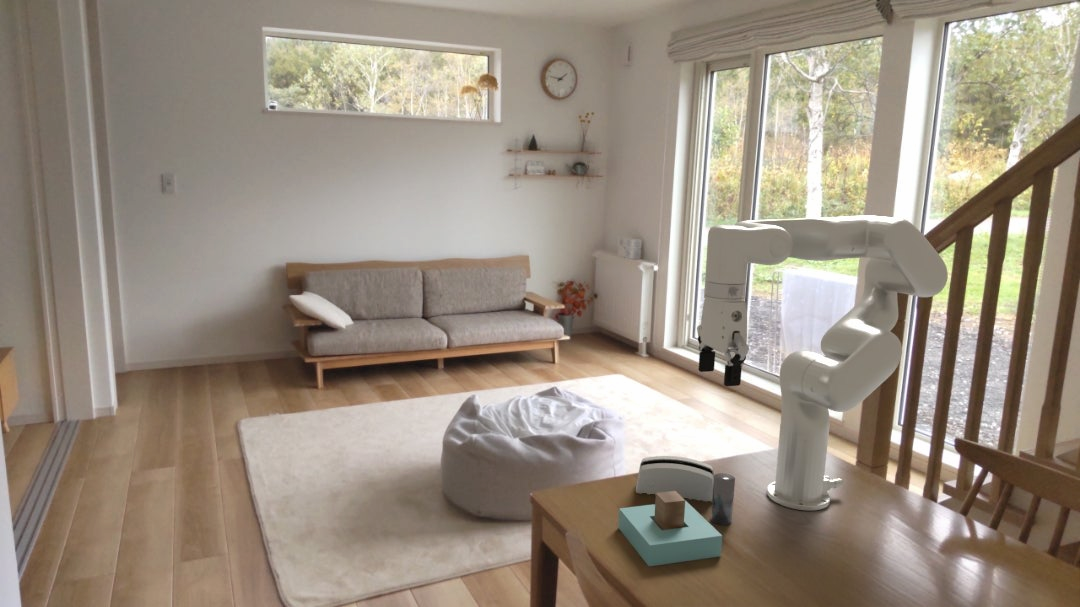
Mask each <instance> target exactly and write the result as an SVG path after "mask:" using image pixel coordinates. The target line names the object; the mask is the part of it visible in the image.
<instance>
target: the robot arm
mask: <svg viewBox="0 0 1080 607" xmlns="http://www.w3.org/2000/svg"><path fill="white" fill-rule="evenodd" d="M707 232H708V233H707V245H706V246H707V248H706V261H705V277H704V293H703V298H704V301H703V304H702V312H701V320H700V324H699V325H698V326H697V328H696V332H697V336H698V337H697V341H698V342H697V343H698V344H699V345H698V351H699V355H698V357H699V358H698V371H699V372H701V373H704V372H705V373H706V372H714V370H715V362H716V351H717V352H719V353H721V354H724V358H725V360H726V363H727V364H725V365H724V373H723V374H724V377H723V378H724V379H723V385H724V386H725V387H737V386H740V385H741V384H742V383H741V381H742V380H741V379H742V367H743V366H744V364H745V361H746V360H747V354H748V352H749V351H750V347H749V345H748V344H747V342H748V312H747V311H748V310H747V303H746V291H747V290H746V287H747V274H748V265H749V264H755V265H756V264H757V265H764V266H774V265H779V264H781V263H783V262H784V261H786V260H787V259H788V258H791V259H798V260H805V261H817V262H823V261H824V262H825V261H826V262H827V261H835V260H848V259H860V258H862V259H863V258H865V259H866V258H868V261H867V262H866V264H865V268H864V286H863V293H862V296H861V298H860V300H859V301H858V302H857V303H856V304H855V306H853V307H852V308H851V309H850V310H849V311H848V312H847V313H845V314H844V315H843V316H842V317H841V318H840V319H839V320H838V321H836V323H834V324H833V325H831V327H830V328H828V330H827V331H826V332H825V333H824V335H823V336H822V338H821V340H820V349H821V352H822V353H823V354H824V355H823V354H821V353H817V352H816V351H815V352H814V351H811V350H797V351H794V352H791V353H790V354H788V355H787V356H786V357H785V358H784V359H783V361H782V363H781V366H780V368H779V387H780V394H781V413H780V424H779V433H778V434H779V437H778V447H777V458H776V469H775V470H776V472H775V480H774V481H772V482H770V483H769V484H768V485H767V487H766V494H767V496H768V497H769V499H770V500H772V501H773V502H775V503H776V504H778V505H780V506H783V507H786V508H789V509H792V510H798V511H799V510H800V511H809V512H810V511H811V512H812V511H820V510H823V509H826V508H827V507H828V506H829V505H830V503H831V497H830V494H829V493H828V491H830V490H831V489H840V488H842V487H843V486H844V483H843V480H842V479H841V478H832V479H830V477H829V475H825V474H826V463H827V454H828V445H829V444H828V443H829V432H830V425H831V424H830V423H831V422H830V421H831V419H830V411H833V412H836V413H845V412H848V411H851V410H852V409H854V408H856V407H857V406H859V405H860V404H861V403H862V402H863V401H865V400H866V399H867V398H868V397H869V396H870V395H871V394H872V393H873V392H874V391H876V389H877V388H878V387H879V386H881V385H882V384H883V383H884V382H885V381H887V379H889V377H891V376H892V375H893V373H894V372H895V371H896V369H897V368H898V367H899V364H900V362H901V358H902V354H903V346H902V342H901V341H900V339H899V336H897V335H896V334H895V333H894V332H892V330H893V329H894V327H895V326H896V324H897V322H898V320H899V306H898V305H899V303H898V293H899V294H905V295H909V296H914V297H918V298H930V297H935V296H937V295H938V294H940V293H941V292H942V291H943V290H944V289H945V287H946V285H947V282H948V277H949V276H948V275H949V274H948V268H947V265H946V263H945V261H944V259H943V258H942V257H941V254H939V253H938V251H936V249H935V248H934V246H933V245H932V244H931V243H930V242H929V240H928V239H927V238H926V237H925V235H924V234H923V233H922V232H921V231H920V230H919V229H918V227H917V226H915V225H914V224H912V222H910V221H909V220H907V219H904V218H900V217H891V216H880V215H879V216H878V215H869V214H868V215H867V214H866V215H848V216H847V215H846V216H835V217H834V216H832V217H831V216H830V217H828V216H827V217H810V218H809V217H804V218H793V219H792V218H790V219H789V218H787V219H758V220H757V219H756V220H742V221H739V222H736V223H734V224H719V225H718V224H717V225H713V226H712V227H710V228H709V230H708V231H707ZM714 350H715V351H714ZM732 355H734V356H733V357H732ZM829 410H830V411H829Z"/></svg>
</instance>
